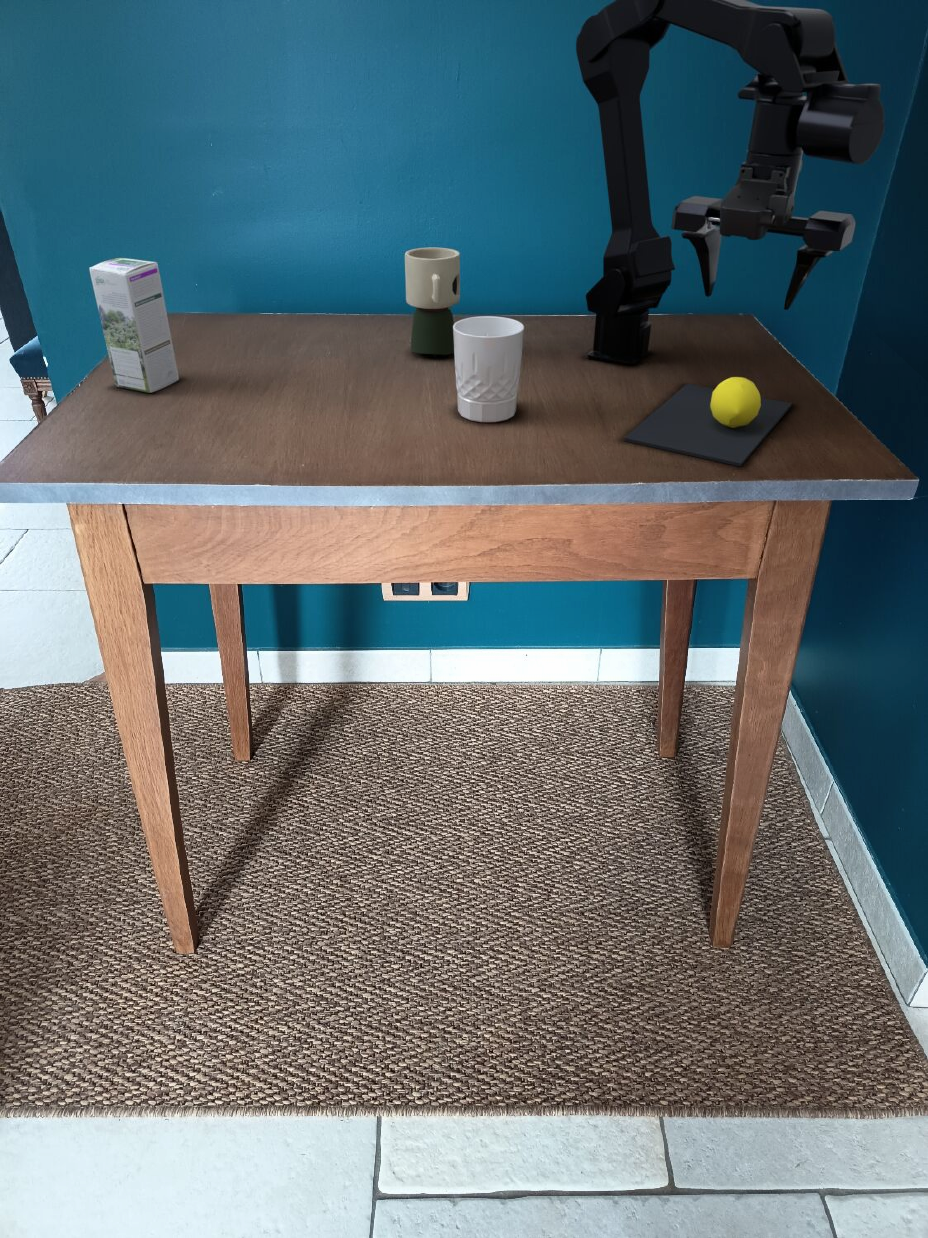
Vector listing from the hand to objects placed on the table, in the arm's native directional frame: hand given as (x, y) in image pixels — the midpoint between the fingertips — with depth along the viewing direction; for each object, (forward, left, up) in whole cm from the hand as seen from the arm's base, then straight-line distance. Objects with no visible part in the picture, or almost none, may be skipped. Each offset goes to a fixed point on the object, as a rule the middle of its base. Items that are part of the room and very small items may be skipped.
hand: (746, 302), depth 106 cm
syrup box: (-64, -34, -11) cm, 73 cm away
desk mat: (+1, -9, -11) cm, 15 cm away
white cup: (-23, -20, -11) cm, 32 cm away
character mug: (-40, -5, -11) cm, 42 cm away
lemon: (+3, -10, -11) cm, 15 cm away
